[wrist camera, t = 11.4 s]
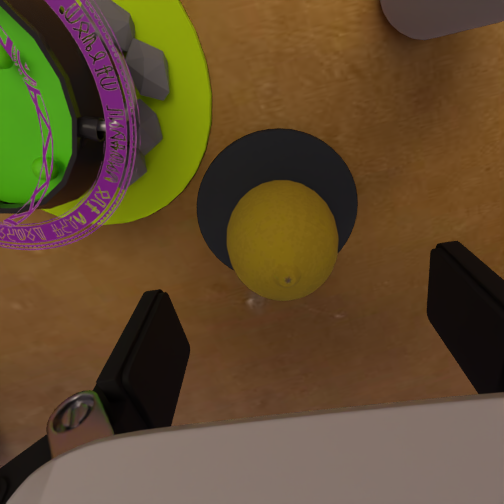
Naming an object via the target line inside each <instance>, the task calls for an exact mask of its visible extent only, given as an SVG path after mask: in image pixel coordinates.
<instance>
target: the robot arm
mask: <svg viewBox="0 0 504 504" xmlns="http://www.w3.org/2000/svg"><path fill="white" fill-rule="evenodd" d="M427 316H428V319H429V321H430V322H431V324H432V325H433V327H434V328H435V330H436V331H437V333H438V334H439V336H440V337H441V339H442V340H443V342H444V343H445V345H446V346H447V348H448V349H449V351H450V352H451V354H452V355H453V357H454V358H455V360H456V361H457V363H458V364H459V366H460V367H461V369H462V370H463V372H464V373H465V374H466V376H467V377H468V379H469V380H470V382H471V383H472V385H473V386H474V388H475V389H476V391H477V392H478V394H477V395H465V396H453V397H442V398H432V399H422V400H412V401H402V402H392V403H382V404H372V405H362V406H352V407H343V408H333V409H324V410H314V411H304V412H295V413H286V414H276V415H267V416H258V417H249V418H240V419H231V420H222V421H213V422H204V423H195V424H186V425H178V426H171V424H172V420H173V416H174V413H175V409H176V405H177V401H178V397H179V393H180V389H181V386H182V382H183V378H184V374H185V370H186V366H187V362H188V359H189V355H190V345H189V342H188V340H187V338H186V335H185V333H184V330H183V328H182V326H181V323H180V321H179V319H178V316H177V314H176V312H175V309H174V307H173V304H172V302H171V300H170V297H169V295H168V293H166V292H164V293H163V291H162V290H160V289H159V290H152V291H146V292H145V293H144V294H143V296H142V297H141V299H140V301H139V303H138V305H137V307H136V309H135V310H134V312H133V314H132V316H131V318H130V320H129V322H128V323H127V325H126V327H125V329H124V331H123V333H122V335H121V336H120V338H119V340H118V342H117V344H116V346H115V348H114V349H113V351H112V353H111V355H110V357H109V359H108V361H107V362H106V364H105V366H104V368H103V370H102V372H101V374H100V375H99V377H98V379H97V381H96V383H97V384H96V386H95V388H94V389H93V391H91V390H89V391H82V392H78V393H76V394H74V395H72V396H70V397H68V398H67V399H66V400H64V401H63V402H62V403H61V404H60V405H59V406H58V407H57V408H56V409H55V410H54V411H53V413H52V414H51V416H50V417H49V420H48V422H47V427H46V432H47V435H45V436H44V437H43V438H41V439H40V440H38V441H37V442H36V443H34V444H33V445H32V446H30V447H29V448H27V449H26V450H25V451H23V452H22V453H21V454H19V455H18V456H17V457H15V458H14V459H12V460H11V461H10V462H8V463H7V464H6V465H4V466H3V467H1V468H0V504H504V280H503V279H502V278H501V277H499V276H498V275H497V274H496V273H495V272H494V271H492V270H491V269H490V268H489V267H488V266H487V265H485V264H484V263H483V262H482V261H481V260H480V259H478V258H477V257H476V256H475V255H474V254H473V253H471V252H470V251H469V250H468V249H467V248H466V247H465V246H463V245H462V244H461V243H460V242H458V241H452V242H445V243H439V244H437V245H436V248H435V249H432V250H431V253H430V268H429V284H428V299H427Z"/></svg>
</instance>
